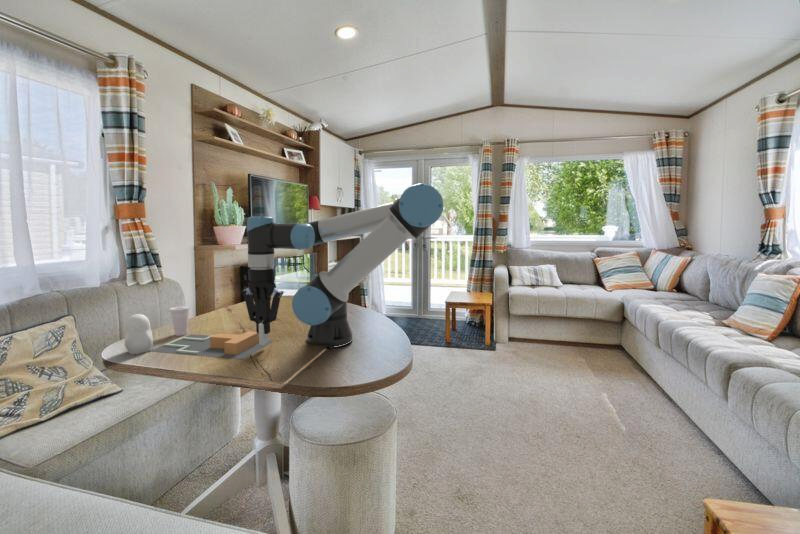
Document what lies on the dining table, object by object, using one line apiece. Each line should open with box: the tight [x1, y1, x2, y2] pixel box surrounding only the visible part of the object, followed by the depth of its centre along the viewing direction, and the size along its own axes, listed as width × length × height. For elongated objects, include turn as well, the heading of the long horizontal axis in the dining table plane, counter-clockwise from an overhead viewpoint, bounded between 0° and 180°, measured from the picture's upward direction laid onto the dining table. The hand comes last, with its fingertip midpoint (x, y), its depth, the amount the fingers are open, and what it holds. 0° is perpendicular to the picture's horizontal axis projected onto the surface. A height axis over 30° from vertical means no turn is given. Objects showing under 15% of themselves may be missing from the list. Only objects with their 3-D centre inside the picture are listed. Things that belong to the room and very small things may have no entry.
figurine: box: [124, 313, 154, 355], centre depth 118 cm, size 7×8×12 cm
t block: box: [210, 330, 259, 355], centre depth 120 cm, size 12×12×4 cm
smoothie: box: [168, 295, 191, 337], centre depth 135 cm, size 6×6×14 cm
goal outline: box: [163, 334, 214, 354], centre depth 123 cm, size 15×16×1 cm
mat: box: [147, 333, 276, 360], centre depth 121 cm, size 32×18×1 cm, turn 79°
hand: (263, 343), depth 117 cm, fingers closed
